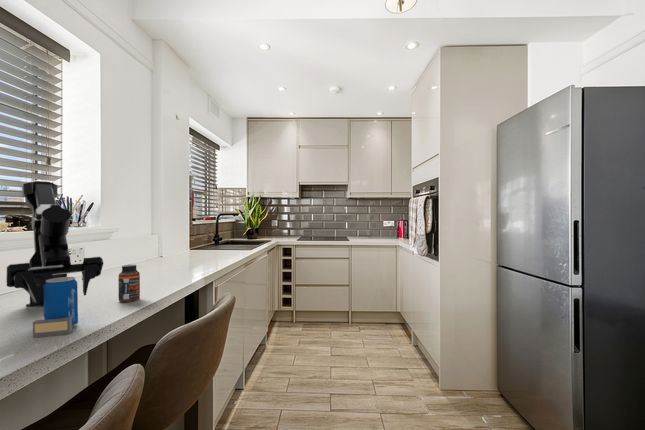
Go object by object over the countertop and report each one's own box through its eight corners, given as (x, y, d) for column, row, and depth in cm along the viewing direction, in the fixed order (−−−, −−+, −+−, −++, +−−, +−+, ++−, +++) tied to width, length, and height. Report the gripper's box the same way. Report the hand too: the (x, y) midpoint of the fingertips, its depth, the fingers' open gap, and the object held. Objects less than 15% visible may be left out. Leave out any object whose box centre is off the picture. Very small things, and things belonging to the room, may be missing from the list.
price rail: (32, 337, 74) (32, 322, 74) (36, 335, 75) (35, 320, 75) (69, 334, 76) (69, 319, 76) (71, 332, 77) (71, 317, 77)
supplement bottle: (130, 303, 102) (129, 267, 102) (113, 302, 103) (113, 266, 103) (144, 298, 108) (143, 264, 107) (128, 297, 109) (128, 263, 109)
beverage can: (59, 333, 76) (58, 282, 76) (37, 331, 78) (36, 281, 78) (84, 324, 83) (83, 276, 83) (63, 322, 84) (62, 276, 84)
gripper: (92, 264, 97) (102, 308, 90) (4, 273, 84) (7, 326, 76) (98, 239, 92) (109, 284, 84) (5, 244, 78) (9, 298, 71)
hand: (62, 298), depth 79 cm, fingers open, 9 cm apart
